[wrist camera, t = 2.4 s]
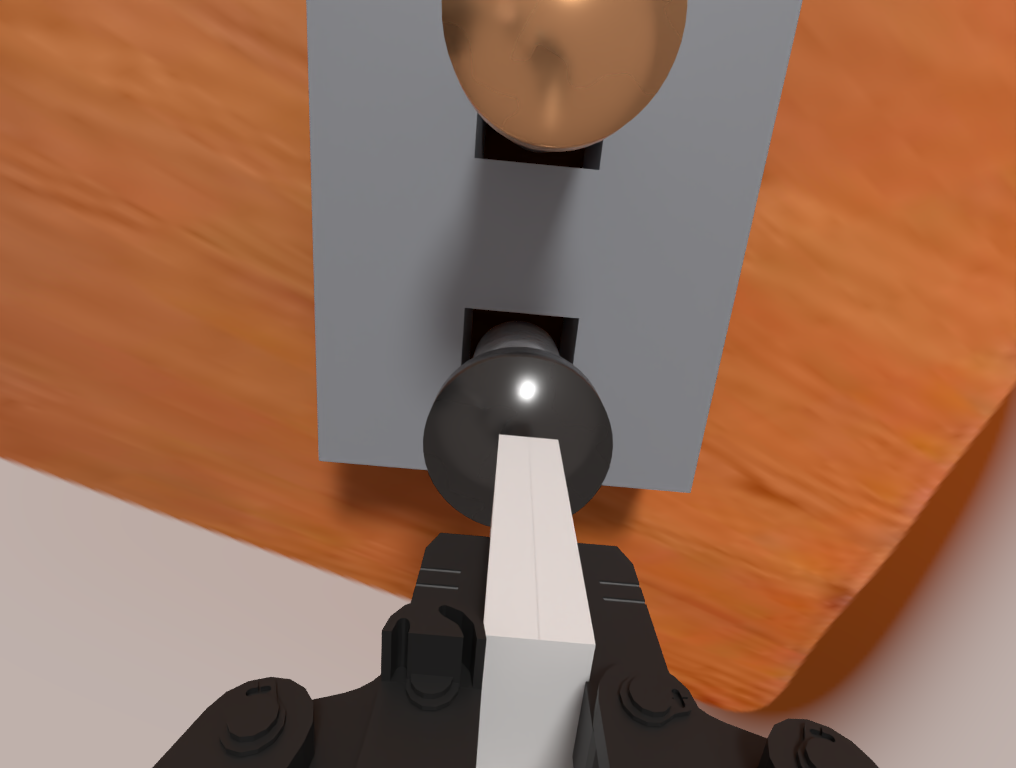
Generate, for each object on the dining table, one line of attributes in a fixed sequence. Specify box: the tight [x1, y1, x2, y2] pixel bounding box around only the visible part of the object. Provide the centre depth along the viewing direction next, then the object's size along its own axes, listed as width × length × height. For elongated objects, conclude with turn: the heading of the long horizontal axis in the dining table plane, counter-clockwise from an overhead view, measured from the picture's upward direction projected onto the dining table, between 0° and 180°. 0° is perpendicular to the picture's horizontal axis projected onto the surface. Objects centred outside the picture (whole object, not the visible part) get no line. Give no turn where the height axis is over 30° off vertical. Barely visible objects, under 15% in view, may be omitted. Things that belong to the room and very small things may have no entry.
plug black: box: [423, 321, 613, 527], centre depth 20 cm, size 6×6×9 cm
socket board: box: [306, 0, 802, 493], centre depth 24 cm, size 18×22×6 cm
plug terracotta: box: [442, 0, 687, 153], centre depth 16 cm, size 6×6×9 cm
